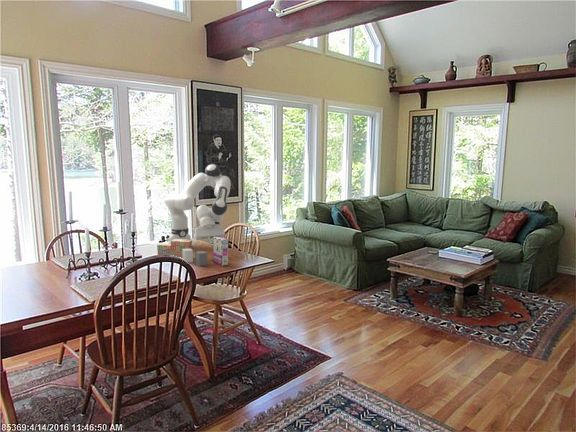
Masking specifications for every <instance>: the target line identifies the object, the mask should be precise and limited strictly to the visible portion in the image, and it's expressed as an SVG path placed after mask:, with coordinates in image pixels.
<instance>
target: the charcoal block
mask: <svg viewBox="0 0 576 432" xmlns="http://www.w3.org/2000/svg"><path fill="white" fill-rule="evenodd" d="M195 253H196V254H195V257H196V258H195V261H196V262H195V263H196V266H198V267H204V266H208V253H207V251H205V250H200V251H199V250H198V251H195Z"/></svg>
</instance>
